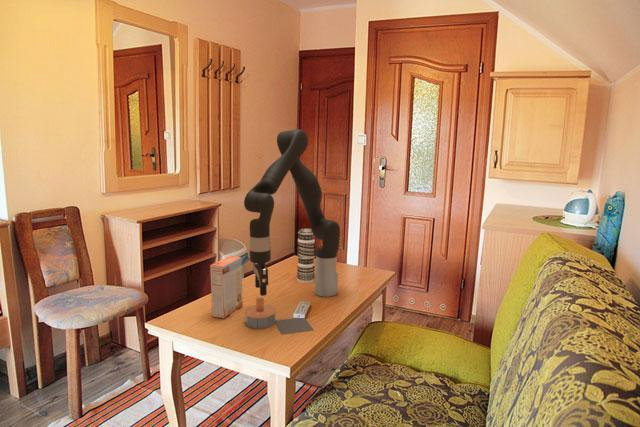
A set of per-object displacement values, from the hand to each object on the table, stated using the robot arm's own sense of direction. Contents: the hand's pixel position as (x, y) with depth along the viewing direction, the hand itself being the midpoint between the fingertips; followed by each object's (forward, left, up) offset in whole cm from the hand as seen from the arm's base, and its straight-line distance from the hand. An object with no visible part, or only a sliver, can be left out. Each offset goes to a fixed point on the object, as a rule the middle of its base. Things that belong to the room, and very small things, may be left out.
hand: (260, 291), depth 158 cm
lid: (0, 0, -8) cm, 8 cm away
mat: (-11, +6, -13) cm, 18 cm away
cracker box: (+10, -15, -13) cm, 22 cm away
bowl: (0, 0, -13) cm, 13 cm away
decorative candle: (-31, -43, -13) cm, 55 cm away
